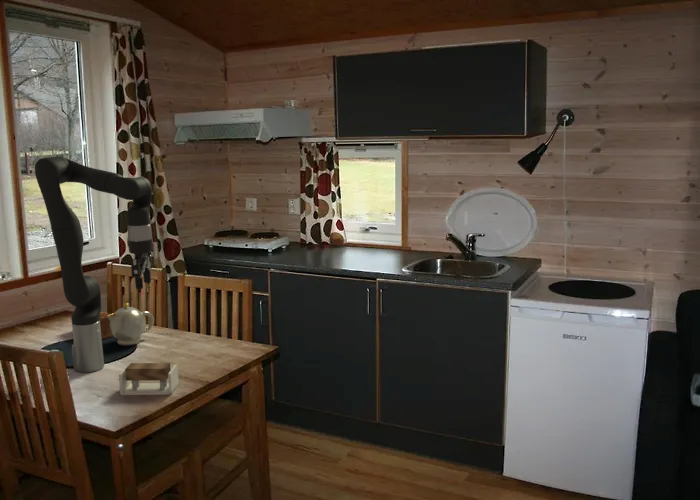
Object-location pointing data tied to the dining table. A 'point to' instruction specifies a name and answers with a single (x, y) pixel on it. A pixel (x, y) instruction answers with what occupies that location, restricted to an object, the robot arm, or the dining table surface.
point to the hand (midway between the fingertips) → (143, 285)
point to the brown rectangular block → (147, 371)
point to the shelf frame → (149, 385)
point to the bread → (105, 325)
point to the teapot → (129, 325)
